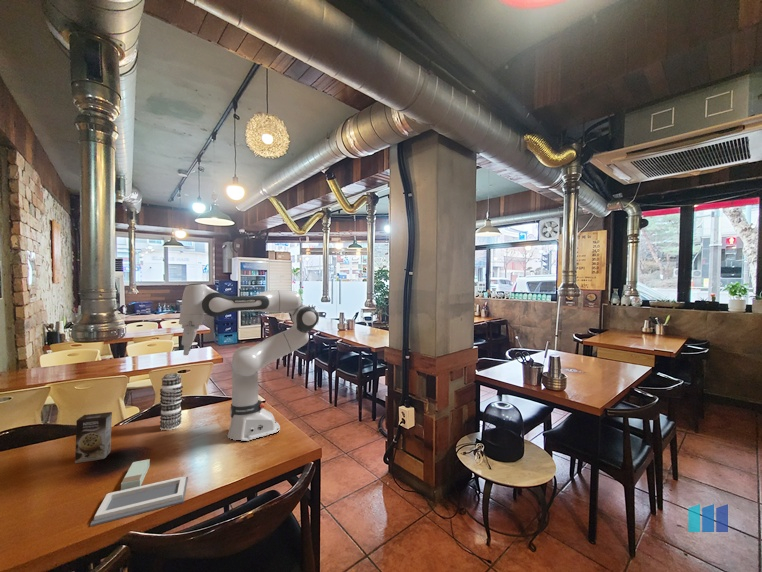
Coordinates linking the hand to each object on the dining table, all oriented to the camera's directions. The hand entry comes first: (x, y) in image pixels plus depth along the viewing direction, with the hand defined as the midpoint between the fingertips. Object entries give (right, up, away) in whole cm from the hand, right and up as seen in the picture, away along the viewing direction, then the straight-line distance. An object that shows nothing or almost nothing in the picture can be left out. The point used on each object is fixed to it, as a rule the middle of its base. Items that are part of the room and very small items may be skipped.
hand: (186, 352), depth 133 cm
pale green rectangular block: (-3, -39, -24) cm, 46 cm away
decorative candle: (-18, -39, +16) cm, 46 cm away
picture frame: (+9, -38, -35) cm, 53 cm away
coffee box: (-30, -39, -11) cm, 50 cm away
